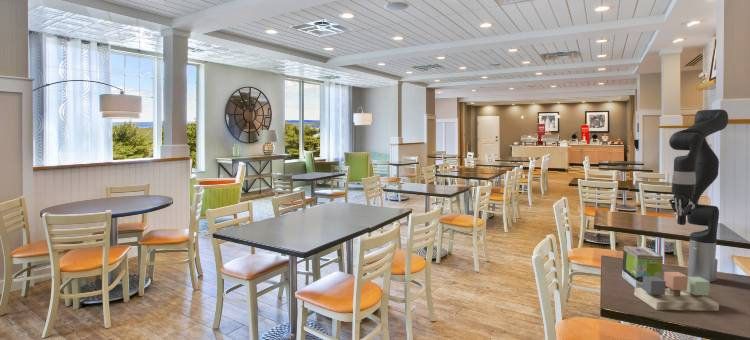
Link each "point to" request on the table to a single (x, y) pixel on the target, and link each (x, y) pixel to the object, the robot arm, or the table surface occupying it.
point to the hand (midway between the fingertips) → (681, 224)
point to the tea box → (640, 264)
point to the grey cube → (654, 285)
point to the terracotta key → (676, 280)
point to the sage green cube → (698, 286)
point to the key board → (677, 300)
